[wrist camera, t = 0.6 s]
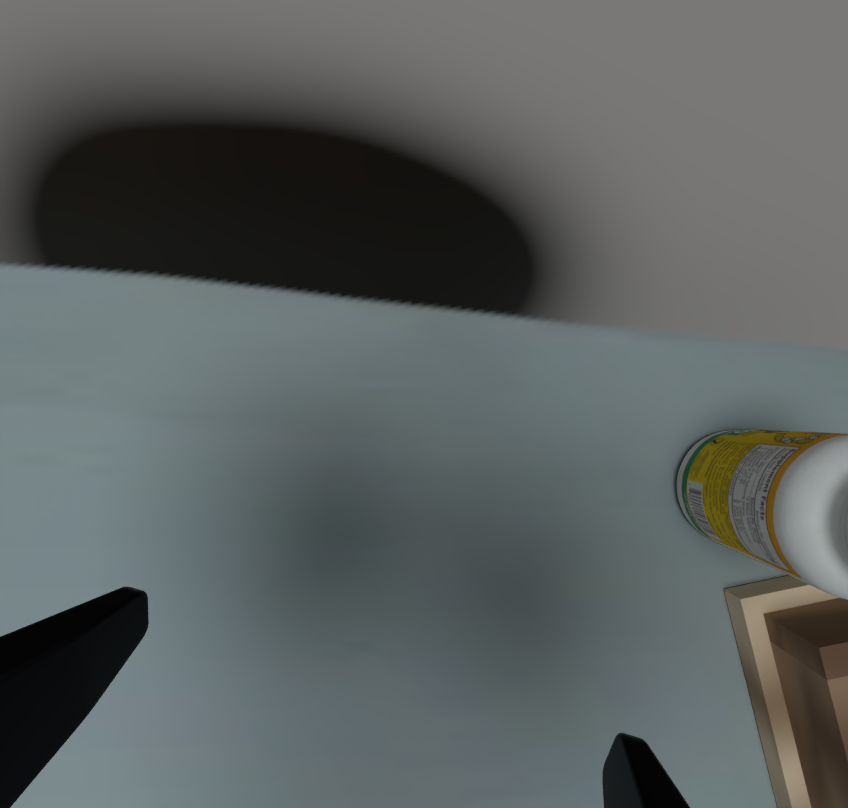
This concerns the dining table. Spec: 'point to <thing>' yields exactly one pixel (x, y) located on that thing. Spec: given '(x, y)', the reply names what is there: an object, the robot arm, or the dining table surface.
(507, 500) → the dining table surface
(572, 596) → the dining table surface
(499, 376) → the dining table surface
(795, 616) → the socket board
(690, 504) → the supplement bottle
